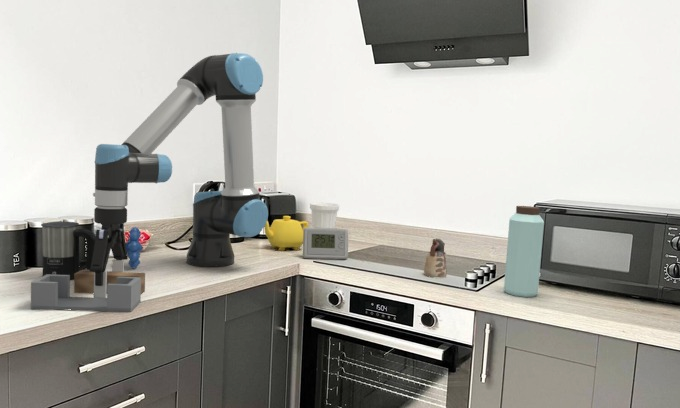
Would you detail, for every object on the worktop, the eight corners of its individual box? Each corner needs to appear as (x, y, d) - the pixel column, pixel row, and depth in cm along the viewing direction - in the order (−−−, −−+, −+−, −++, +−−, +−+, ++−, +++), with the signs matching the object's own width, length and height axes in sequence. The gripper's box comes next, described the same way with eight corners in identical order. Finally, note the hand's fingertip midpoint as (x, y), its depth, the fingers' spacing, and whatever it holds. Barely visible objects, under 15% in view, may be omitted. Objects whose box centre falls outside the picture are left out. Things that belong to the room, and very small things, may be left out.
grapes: (119, 263, 175) (120, 224, 174) (143, 262, 177) (143, 224, 176) (117, 271, 164) (118, 230, 163) (142, 271, 166) (143, 230, 165)
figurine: (450, 276, 181) (453, 239, 180) (437, 279, 176) (440, 240, 175) (432, 272, 186) (435, 236, 185) (419, 274, 181) (421, 237, 180)
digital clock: (300, 259, 196) (301, 228, 195) (304, 254, 205) (305, 225, 204) (347, 262, 195) (348, 231, 194) (348, 257, 204) (350, 228, 203)
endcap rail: (140, 302, 134) (140, 277, 134) (130, 311, 126) (131, 285, 126) (46, 299, 132) (46, 274, 132) (30, 309, 124) (30, 282, 124)
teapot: (252, 246, 215) (253, 214, 214) (299, 244, 226) (300, 213, 224) (266, 253, 204) (267, 218, 203) (315, 250, 214) (316, 218, 213)
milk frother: (39, 282, 148) (39, 226, 146) (44, 269, 162) (44, 217, 161) (98, 280, 153) (99, 225, 152) (98, 267, 168) (98, 218, 166)
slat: (144, 292, 144) (145, 272, 144) (139, 296, 140) (140, 276, 140) (80, 289, 144) (81, 270, 143) (74, 293, 140) (74, 273, 139)
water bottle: (497, 288, 168) (504, 204, 165) (529, 289, 168) (537, 206, 166) (510, 297, 158) (517, 208, 155) (544, 298, 158) (552, 209, 156)
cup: (326, 243, 230) (328, 206, 229) (302, 239, 237) (303, 203, 236) (343, 240, 241) (345, 204, 239) (319, 236, 247) (321, 202, 246)
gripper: (111, 201, 152) (110, 279, 154) (75, 211, 127) (74, 304, 129) (140, 203, 152) (138, 280, 154) (110, 213, 128) (108, 305, 129)
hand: (109, 291), depth 142 cm, fingers open, 13 cm apart
